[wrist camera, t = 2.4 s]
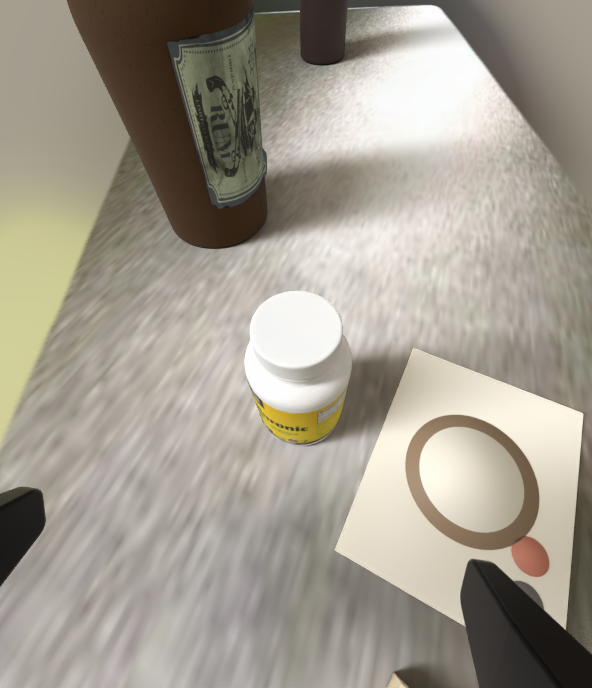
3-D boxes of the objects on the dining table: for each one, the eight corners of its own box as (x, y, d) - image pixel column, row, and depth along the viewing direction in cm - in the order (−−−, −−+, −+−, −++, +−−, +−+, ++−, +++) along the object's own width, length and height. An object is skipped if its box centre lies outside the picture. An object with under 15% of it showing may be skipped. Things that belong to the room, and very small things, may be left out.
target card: (556, 679, 15) (562, 683, 15) (334, 550, 18) (334, 550, 18) (579, 415, 22) (584, 413, 21) (412, 350, 25) (413, 347, 24)
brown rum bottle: (143, 226, 33) (-161, -374, 12) (216, 172, 37) (94, -334, 16) (225, 271, 29) (7, -467, 8) (295, 205, 34) (273, -383, 12)
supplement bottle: (243, 410, 23) (206, 328, 14) (298, 358, 25) (293, 259, 16) (303, 467, 21) (300, 410, 12) (357, 405, 23) (387, 319, 14)
